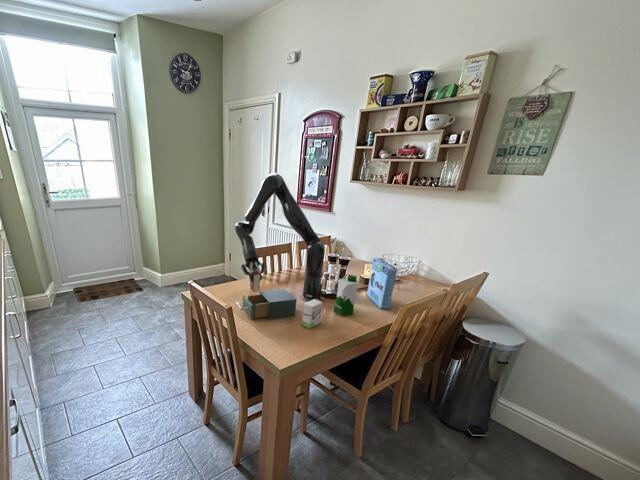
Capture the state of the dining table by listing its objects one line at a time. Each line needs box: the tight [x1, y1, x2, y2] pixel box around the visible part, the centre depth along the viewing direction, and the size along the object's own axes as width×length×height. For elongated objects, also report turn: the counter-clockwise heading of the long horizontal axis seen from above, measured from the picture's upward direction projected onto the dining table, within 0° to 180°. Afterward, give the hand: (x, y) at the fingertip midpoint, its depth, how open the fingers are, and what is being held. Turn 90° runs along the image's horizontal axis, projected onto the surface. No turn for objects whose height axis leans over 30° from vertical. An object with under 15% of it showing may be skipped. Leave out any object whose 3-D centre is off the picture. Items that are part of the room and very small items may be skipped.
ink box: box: [301, 299, 323, 329], centre depth 158 cm, size 9×5×12 cm, turn 132°
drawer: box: [235, 293, 269, 321], centre depth 167 cm, size 18×13×8 cm
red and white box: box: [249, 270, 262, 292], centre depth 182 cm, size 4×5×10 cm
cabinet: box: [259, 288, 298, 320], centre depth 171 cm, size 15×14×10 cm
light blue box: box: [366, 257, 398, 310], centre depth 182 cm, size 20×5×23 cm, turn 2°
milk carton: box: [333, 274, 360, 317], centre depth 169 cm, size 9×9×20 cm
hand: (256, 280), depth 180 cm, fingers closed on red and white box, 4 cm apart
